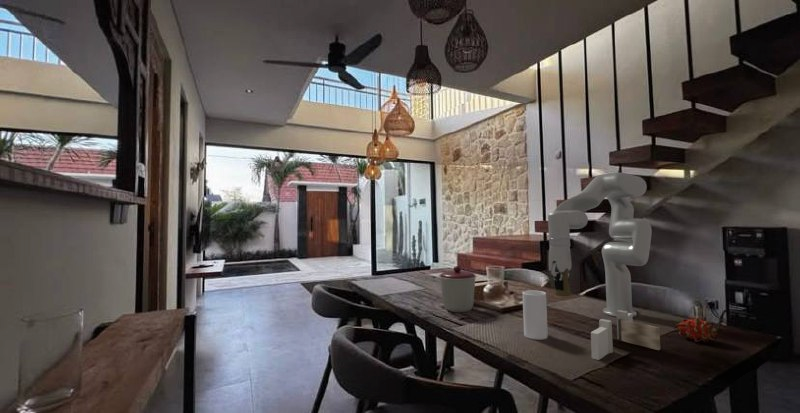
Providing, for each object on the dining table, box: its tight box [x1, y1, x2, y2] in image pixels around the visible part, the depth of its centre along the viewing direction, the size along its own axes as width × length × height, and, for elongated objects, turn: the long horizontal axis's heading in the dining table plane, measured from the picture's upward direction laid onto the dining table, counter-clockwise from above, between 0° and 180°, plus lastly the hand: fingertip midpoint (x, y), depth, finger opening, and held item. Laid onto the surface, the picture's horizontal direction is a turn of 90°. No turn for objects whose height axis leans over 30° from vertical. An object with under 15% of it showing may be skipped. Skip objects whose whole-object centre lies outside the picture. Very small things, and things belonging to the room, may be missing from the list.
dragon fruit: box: [673, 316, 720, 343], centre depth 119 cm, size 8×8×12 cm
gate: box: [618, 319, 661, 351], centre depth 115 cm, size 12×2×7 cm, turn 35°
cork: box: [553, 268, 572, 297], centre depth 135 cm, size 6×6×11 cm
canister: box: [438, 265, 478, 313], centre depth 165 cm, size 18×18×21 cm
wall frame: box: [590, 310, 634, 361], centre depth 116 cm, size 31×3×10 cm, turn 129°
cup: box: [522, 289, 549, 341], centre depth 128 cm, size 8×8×16 cm
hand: (562, 288), depth 135 cm, fingers closed on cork, 4 cm apart
